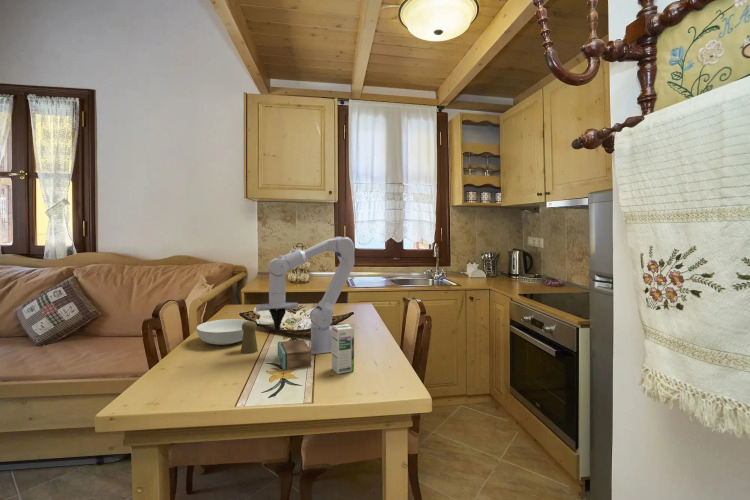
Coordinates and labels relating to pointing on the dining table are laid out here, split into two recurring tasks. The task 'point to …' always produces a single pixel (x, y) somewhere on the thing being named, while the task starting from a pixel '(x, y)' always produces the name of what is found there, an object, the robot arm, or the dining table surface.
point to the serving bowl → (221, 331)
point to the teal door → (281, 355)
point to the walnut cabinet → (297, 354)
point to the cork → (249, 338)
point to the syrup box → (343, 348)
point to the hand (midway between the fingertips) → (277, 329)
